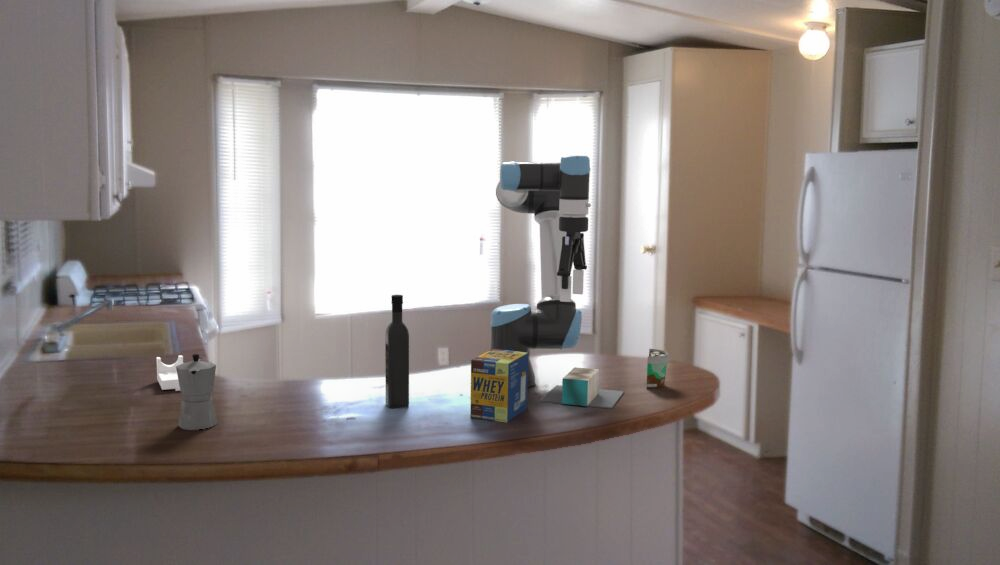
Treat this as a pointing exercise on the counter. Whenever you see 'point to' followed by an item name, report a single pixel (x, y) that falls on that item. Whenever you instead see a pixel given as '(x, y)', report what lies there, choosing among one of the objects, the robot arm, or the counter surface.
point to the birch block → (580, 386)
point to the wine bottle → (397, 358)
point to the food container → (656, 368)
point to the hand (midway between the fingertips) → (571, 297)
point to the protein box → (499, 385)
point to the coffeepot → (196, 394)
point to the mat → (601, 401)
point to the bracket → (168, 374)
